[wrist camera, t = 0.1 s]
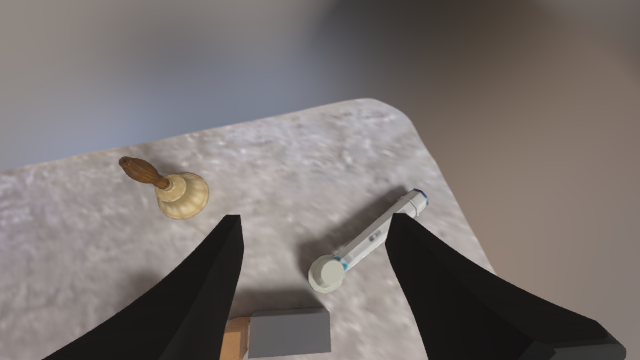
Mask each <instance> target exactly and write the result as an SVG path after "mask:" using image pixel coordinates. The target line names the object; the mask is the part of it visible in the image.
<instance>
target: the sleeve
mask: <svg viewBox="0 0 640 360" xmlns="http://www.w3.org/2000/svg"><path fill="white" fill-rule="evenodd" d="M325 352H331V339H330V315H329V311H328V310H327V309H326V308H325V307H317V308H299V309H281V310H263V311H255V312H254V313H253V314H252V316H251V317H250V334H249V353H248V358H260V357H273V356H286V355H299V354H312V353H325Z"/></svg>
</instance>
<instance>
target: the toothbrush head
mask: <svg viewBox="0 0 640 360" xmlns="http://www.w3.org/2000/svg"><path fill="white" fill-rule="evenodd" d="M427 205H428V197H427V196H426V195H425V194H424V193H423V191H421V190H418V189H413V190H411V191H410V192H409V193H407V194H406V195H405V196H402V197H400V198H398V199H397V200H396V203H395V204H394V205H393V206H392V207H391V208H389V209H388V210H387V211H386V212H385V213H384V214H383V215H381V216H380V217H379V218H378V219H377V220H376V221H374V222H373V223H372V224H371V225H370V226H369V227H368V228H366V229H365V230H364V231H363V232H362V233H361V234H360V235H358V236H357V237H356V238H355V239H354V240H353V241H351V242H350V243H349V244H348V245H347V246H346V247H345V248H343V249H342V250H341V251H340V252H339V253H338V254H336V255H333V254H329V255H323V256H321V257H319V258H318V259H317V260H316V261H314V262H313V263H312V265H311V267H310V269H309V271H308V283H309V284H310V286H311V287H312V289H313V290H314V291H317V292H320V293H323V294H324V293H328V292H332V291H334V290H335V289H336V288H338V287H339V286H340V285H341V284H342V282H343V279H344V277H345V274H346V273H345V272H346V271H347V270H349V269H350V268H351V267H352V266H354V265H355V264H356V263H357V262H359V261H360V260H361V259H362V258H364V257H365V256H366V255H367V254H368V253H370V252H371V251H372V250H373V249H375V248H376V247H377V246H378V245H380V244H381V243H382V242H383V241H385V240H386V238H387V234H388V230H389V226H390V222H391V218H392V215H393V213H406V214H407V215H409V216H410V217H412V218H415V217H418V216H419V212H420V211H421V210H422V209H423V208H425V207H426V206H427Z"/></svg>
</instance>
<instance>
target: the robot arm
mask: <svg viewBox="0 0 640 360" xmlns="http://www.w3.org/2000/svg"><path fill="white" fill-rule="evenodd" d="M385 247H386V250H387V254H388V257H389V260H390V263H391V266H392V268H393V270H394V272H395V275H396V277H397V279H398V281H399V283H400V286H401V288H402V290H403V292H404V294H405V297H406V299H407V301H408V303H409V305H410V308H411V310H412V312H413V315H414V317H415V320H416V323H417V326H418V329H419V332H420V335H421V338H422V341H423V344H424V347H425V350H426V353H427V357H428V360H624V359H625V357H626V348H625V347H624V346H623V345H622V344H620V343H619V342H618V341H617V340H616V339H615V338H614V337H613V336H612V335H611V334H610V333H609V332H608V331H607V330H606V329H605V328H603V327H602V326H601V325H600V324H599V323H598V322H597V321H595V320H592V319H590V318H587V317H585V316H582V315H580V314H577V313H575V312H572V311H570V310H567V309H565V308H562V307H560V306H558V305H555V304H553V303H550V302H548V301H546V300H544V299H542V298H540V297H537V296H535V295H533V294H531V293H529V292H527V291H525V290H523V289H521V288H518V287H516V286H515V285H513V284H511V283H509V282H507V281H505V280H503V279H501V278H499V277H498V276H496V275H494V274H492V273H490V272H489V271H487V270H485V269H484V268H482V267H480V266H479V265H477V264H475V263H474V262H472V261H471V260H469V259H467V258H466V257H464V256H463V255H461V254H460V253H458V252H457V251H456V250H454V249H453V248H451V247H450V246H448V245H447V244H446V243H444V242H443V241H442V240H440V239H439V238H438V237H436V236H435V235H434V234H432V233H431V232H430V231H428V230H427V229H426V228H425V227H423V226H422V225H421V224H419V223H418V222H417V221H416V220H414V219H413V218H412V217H410V216H409V215H407V214H406V213H393V215H392V218H391V222H390V226H389V230H388V234H387V238H386V241H385ZM243 253H244V242H243V234H242V226H241V218H240V215H226V216H224V217H223V219H222V220H221V221H220V222H219V223H218V224H217V226H216V227H215V228H214V229H213V230H212V231H211V232H210V234H209V235H208V236H207V237H206V238H205V239H204V240H203V241H202V242H201V243H200V244H199V246H198V247H197V248H196V249H195V250H194V251H193V252H192V253H191V254H190V255H189V256H188V257H187V258H186V259H185V260H184V261H182V262H181V263H180V264H179V265H178V266H177V267H176V268H175V269H174V270H173V271H172V272H171V273H169V274H168V275H167V276H166V277H165V278H164V279H162V280H161V281H160V282H159V283H158V284H156V285H155V286H154V287H153V288H151V289H150V290H149V291H147V292H146V293H145V294H143V295H142V296H141V297H139V298H138V299H137V300H135V301H134V302H133V303H131V304H130V305H128V306H127V307H126V308H124V309H123V310H121V311H120V312H118V313H117V314H115V315H114V316H112V317H111V318H109V319H108V320H106V321H105V322H103V323H102V324H100V325H99V326H97V327H96V328H94V329H92V330H91V331H89V332H88V333H86V334H84V335H83V336H81V337H80V338H78V339H76V340H74V341H73V342H71V343H69V344H68V345H66V346H64V347H63V348H61V349H59V350H57V351H56V352H54V353H52V354H51V355H49V356H47V357H46V358H44V359H42V360H220V354H221V349H222V343H223V337H224V332H225V327H226V323H227V318H228V315H229V311H230V307H231V304H232V300H233V297H234V293H235V289H236V286H237V282H238V279H239V275H240V271H241V266H242V260H243Z"/></svg>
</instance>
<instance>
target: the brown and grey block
mask: <svg viewBox="0 0 640 360" xmlns="http://www.w3.org/2000/svg"><path fill="white" fill-rule="evenodd" d="M249 334H250V317H236V318H234V319H233V320H227V323H226V327H225V332H224V337H223V343H222V349H221V354H220V360H242V359H243V357H244V355H245V353H246V352H247V350H248V348H249Z"/></svg>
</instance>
